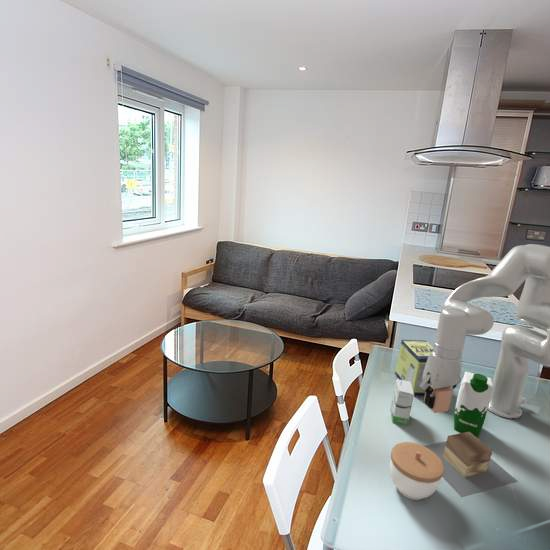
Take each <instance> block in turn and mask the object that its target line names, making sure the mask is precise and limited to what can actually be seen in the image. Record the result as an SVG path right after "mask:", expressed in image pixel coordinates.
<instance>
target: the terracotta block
mask: <svg viewBox="0 0 550 550" xmlns="http://www.w3.org/2000/svg"><path fill="white" fill-rule="evenodd" d="M432 389H433V388H430V390H431V391H432ZM452 392H453V393H454V389H453V390H452V389H451V388H449V387H443V388H437V390H436V393H435V395H434V397H435V401H434V406H433V408H432V409H431V408H429V407H428V406H427V405H426V404H425V403H424V401H425V396H426V392H425V396H424V397H423V403H422V404H423V405H425V406H426V407H427V408H428V409H429V410H431V412H433V413H434V414H438V413H442V412H443V413H444V412H447V411H449V408H450V405H451V400H452V395H453V393H452Z"/></svg>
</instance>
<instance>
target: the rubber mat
mask: <svg viewBox="0 0 550 550" xmlns="http://www.w3.org/2000/svg"><path fill="white" fill-rule="evenodd" d="M446 442H447V440H445V441H440V442H436V443H432V444H426V445H423V446H424V447H426V448H428V449H430V450H431V451H433V452H434V453H435V454H436V455H437V456H438V457H439V458H440V460H441V461H442V463H443V466H444V472H443V475H442V477H441V478H443V480H445V481H446V482H447V484H448V485H449V486H450V487H451V488H452V489H453V490H454V491H456V493H457V494H458V495H459V496H460V497H461V498H463V497H467V496H470V495H471V496H472V495H474V494H478V493H482V492H484V491H485V492H486V491H488V490H492V489H495V488H499V487H503V486H504V487H505V486H507V485H512V484H514V483H518V482H519V481H518V480H517V479H516V478H515V477H513V476H512V475H511V474H510V473H509V472H508V471H507V470H506V469H504V468H503V467H502V466H501V465H500V464H498V463H497V462H496V461H495V460H494V459H492V458H490V461H489V464H488V468H487V471H486V472H483V473H479V474H475V475H471V476H467V477H464V476H463V475H461V474H460V473H459V472H458V471H457V470H456V469H455V468H454V467H453V466H452V465H451V464H450V463H449V462H448V461H447V460H446V459H445V458H444V457H443V453H444V449H445V445H446Z"/></svg>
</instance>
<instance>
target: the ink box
mask: <svg viewBox="0 0 550 550" xmlns="http://www.w3.org/2000/svg"><path fill="white" fill-rule="evenodd" d="M414 397H415V396H414V392H413V388H412V385H411V382H409V381H405V380H400V379H398V378H397V379H396V381H395V384H394V390H393V394H392V399H391V403H390V408H389V410H390V416H391V422H392V424H397V425H402V426H408V424H409V420H410V417H411V416H410V415H411V412H412V411H411V410H412V406H413V401H414Z"/></svg>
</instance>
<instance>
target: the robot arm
mask: <svg viewBox="0 0 550 550" xmlns="http://www.w3.org/2000/svg"><path fill="white" fill-rule="evenodd" d="M523 283H524V284H523ZM522 284H523V285H524V286H523V289H522V292H521V295H520V297H519V301H518V303H517V307H516V311H515V317H516V319H517V320H518V321H519V322H521V323H523V324H526V325H529V326H530V327H534V328H536V329H540V330H542V331H544V332H546V334H544V333H541V332H539V331H537V330H534V329H532V328H529V327H526V326H522V325H519V324H510V325H508V326H506V327H505V329H504V330H503V332H502V333H501V334H502V335H501V339H500V340H501V341H500V343H501V345H500V351H499V357H498V360H497V364H496V368H495V372H494V375H493V378H492V387H493V392H492V395H491V399H490V403H489V407H488V410H487V411H490V412H491V413H493V414H495V415H496V416H499V417H503V418H506V419H512V418H515V419H519V418H521V417H522V415H523V410H522V409H521V408H520V406H521V404H526V403H527V402H528V400H527V398H526V397H525V396H524V397H523V393H524V389H525V386H526V383H527V379H528V377H529V374H530V362H529V360H530V361H532V362H534V363H537V364H539V365H541V366H544V367H549V368H550V246H547V245H542V244H536V243H535V244H534V243H530V244H529V243H528V244H525V245H523V244H521V245H516V246H514V247H512V248H511V249H510V250H509V251H508V252H507V253H506V254H505V256H503V258H502V259H501V260H500V261H499V262H498V264H497V265H496V266H495V267H494V268H493V269H492V270H491V271H490V273H489V274H487V275H485V276H482V277H478V278H475V279H474V280H470V281H468V282H466V283H463V284H461V285H460V286H458V287H457V288H456V289H455V290H454V291H453V292H452V293H451V294H450V295H449V296H448V297H447V298H446V299H445V301H444V303H442V306H441V308H440V315H439V318H438V319H439V320H438V323H437V329H436V333H435V334H436V335H435V338H434V344H433V352H431V353H430V355H429V357H428V359H427V362H426V365H425V369H424V372H423V377H422V382H421V384H420V385H419V386H420V387H421V388H422V389H423V390H424V391H425V392H426V396H424V397H425V401H424V400H423V402H424V403H425V404H426V405H427V406H428V407H429V408H431V409H432V408H433V406H434V401H435V397H434V395H435V393H436V390H437V388H443V387H449V388H451V389H452V390H453V392H452V394H453V393H454V390H455V388H457V386H458V385H459V384H461V382H462V379H461V373H462V365H463V357H462V354H463V350H464V347H465V346H464V345H465V340H466V337H467V336H479V335H480V336H481V335H485V334H487V333H488V332H490V330H492V328H493V326H494V323H495V319H494V317H493V315H492V313H490V312H489V311H488V310H485V309H483V308H480V307H479V306H475V305H474V304H470V303H469V302H470V301H472V300H475V299H480V298H495V297H496V298H498V297H499V298H500V297H509V296H512V295H513V294H514V293H515V292H516V291H517V290H518V288H520V286H521V285H522ZM430 388H433V389H432V391H431V390H430ZM424 403H423V404H424ZM425 404H424V405H425ZM426 405H425V406H426ZM427 406H426V407H427ZM428 407H427V408H428ZM429 408H428V409H429ZM431 409H430V410H431ZM520 416H521V417H520Z"/></svg>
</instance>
